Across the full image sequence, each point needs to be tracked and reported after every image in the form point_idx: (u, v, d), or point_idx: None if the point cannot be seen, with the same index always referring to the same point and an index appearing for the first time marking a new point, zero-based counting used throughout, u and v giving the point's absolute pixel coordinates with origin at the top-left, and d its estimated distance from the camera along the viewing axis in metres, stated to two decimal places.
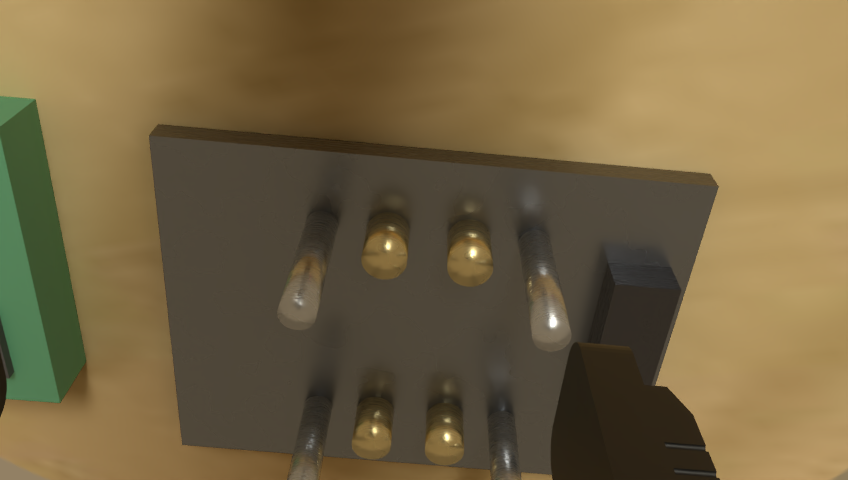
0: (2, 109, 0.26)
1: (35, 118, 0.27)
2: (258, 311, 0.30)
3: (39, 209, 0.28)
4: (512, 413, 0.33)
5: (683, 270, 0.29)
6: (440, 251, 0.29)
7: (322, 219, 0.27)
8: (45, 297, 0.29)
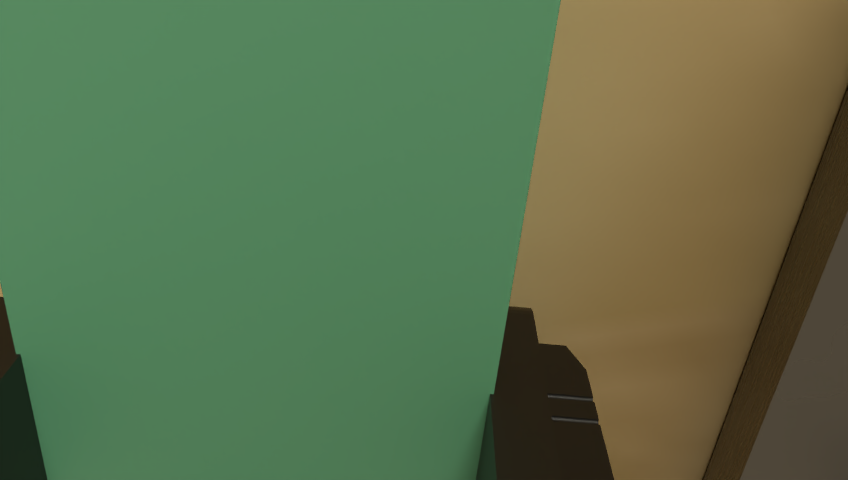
0: None
1: None
2: None
3: None
4: None
5: None
6: None
7: None
8: None
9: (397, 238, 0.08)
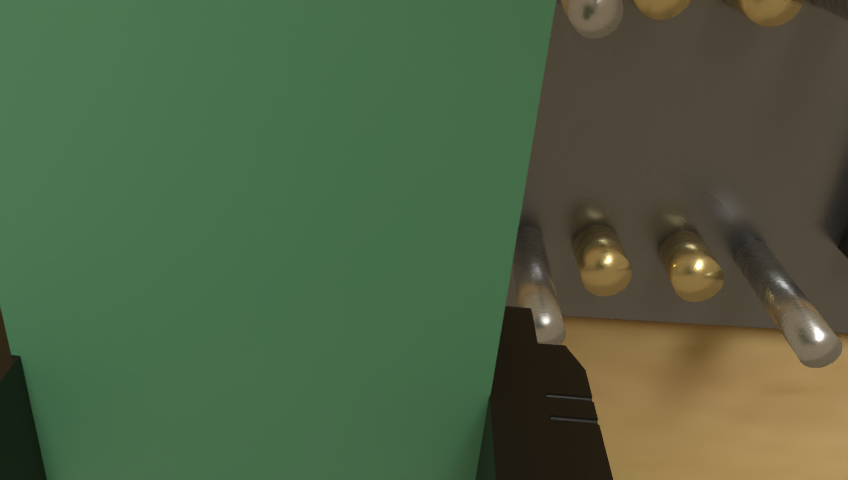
0: None
1: None
2: None
3: None
4: (767, 243, 0.26)
5: None
6: (710, 5, 0.23)
7: None
8: None
9: (392, 242, 0.08)
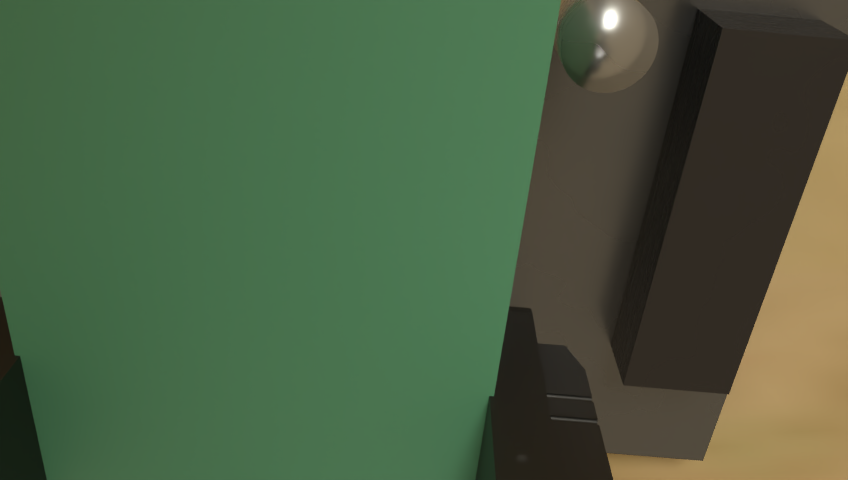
0: None
1: None
2: None
3: None
4: None
5: (845, 26, 0.15)
6: None
7: None
8: None
9: (395, 246, 0.08)
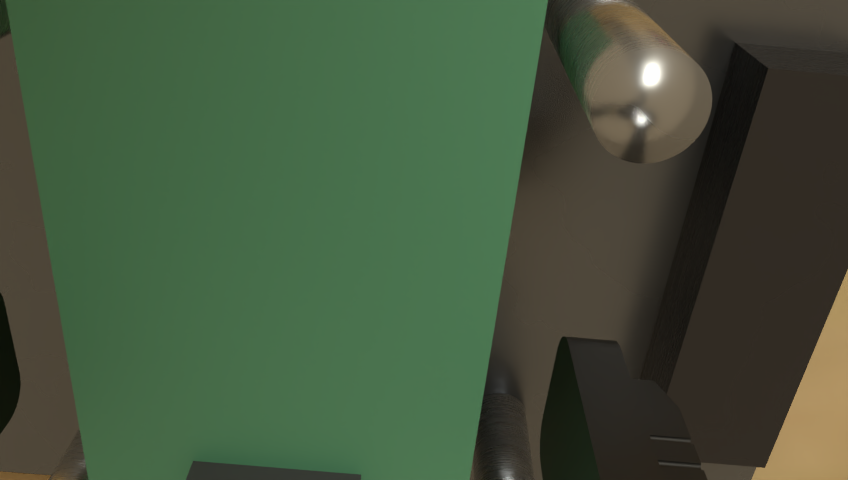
0: None
1: None
2: None
3: None
4: (520, 398, 0.17)
5: None
6: None
7: None
8: None
9: (405, 200, 0.09)
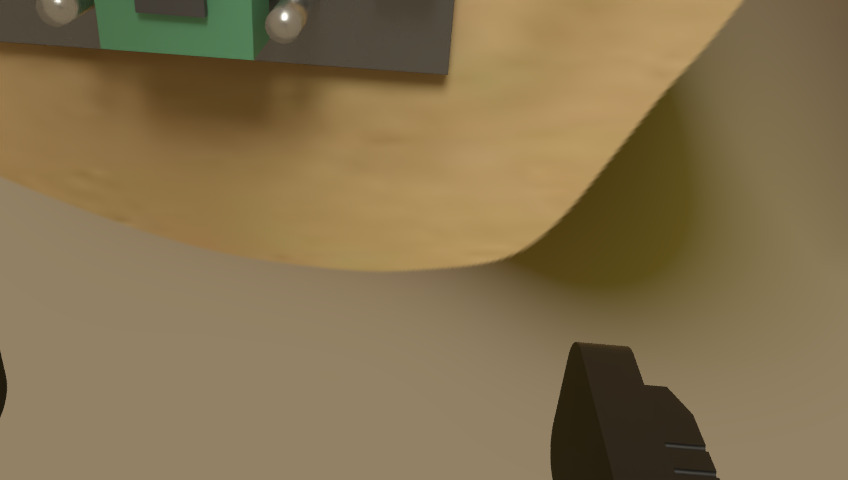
0: None
1: None
2: None
3: None
4: None
5: None
6: None
7: None
8: None
9: None
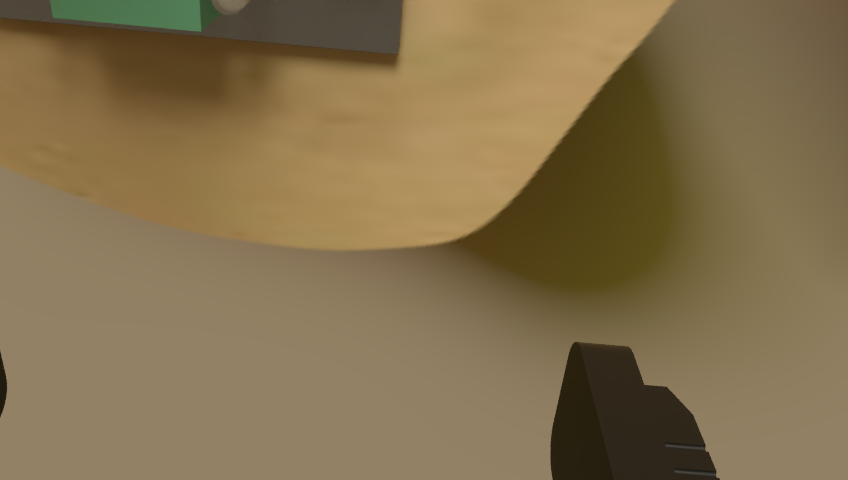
0: None
1: None
2: None
3: None
4: None
5: None
6: None
7: None
8: None
9: None
